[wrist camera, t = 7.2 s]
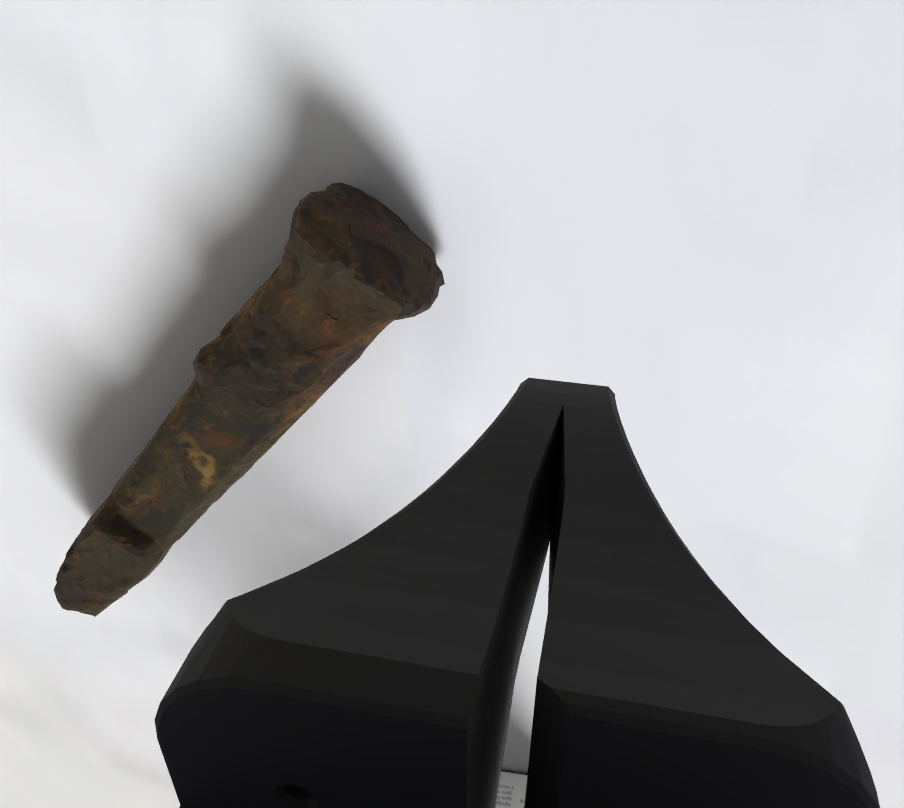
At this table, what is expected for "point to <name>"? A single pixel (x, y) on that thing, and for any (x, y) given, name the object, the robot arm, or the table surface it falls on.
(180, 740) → the robot arm
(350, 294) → the hand tool
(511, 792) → the coffee box
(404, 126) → the table surface
